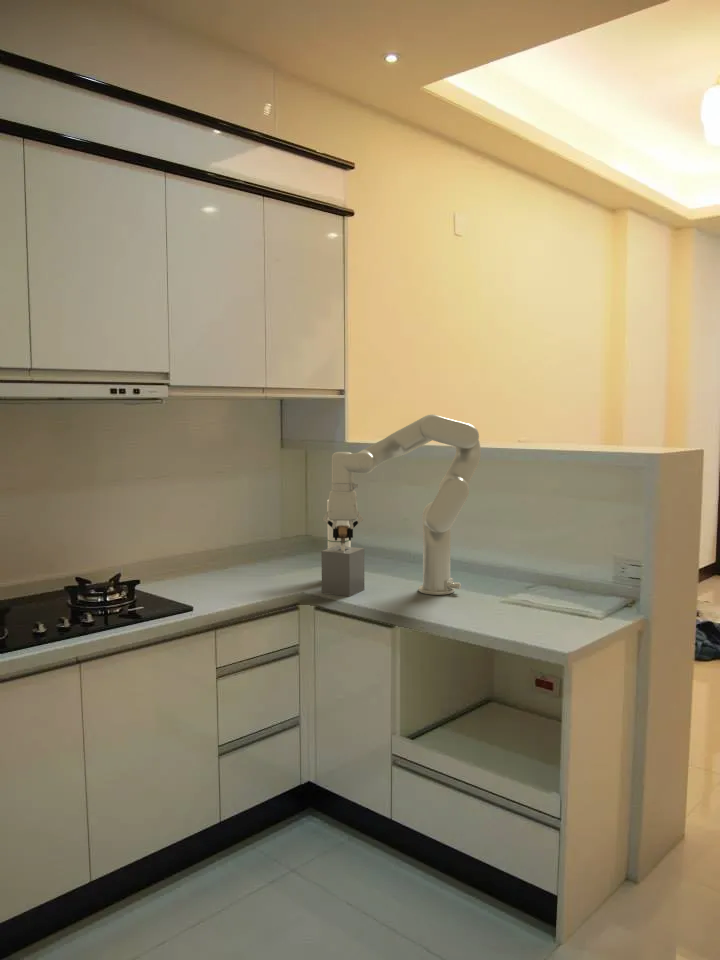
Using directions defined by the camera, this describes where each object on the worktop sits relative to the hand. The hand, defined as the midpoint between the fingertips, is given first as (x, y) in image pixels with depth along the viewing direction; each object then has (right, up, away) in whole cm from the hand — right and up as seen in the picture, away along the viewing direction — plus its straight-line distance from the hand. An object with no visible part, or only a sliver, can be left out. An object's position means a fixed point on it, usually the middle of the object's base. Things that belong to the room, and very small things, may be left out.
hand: (342, 539), depth 265 cm
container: (-2, -17, +20) cm, 26 cm away
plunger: (0, -15, +1) cm, 15 cm away
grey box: (0, -18, +2) cm, 18 cm away
